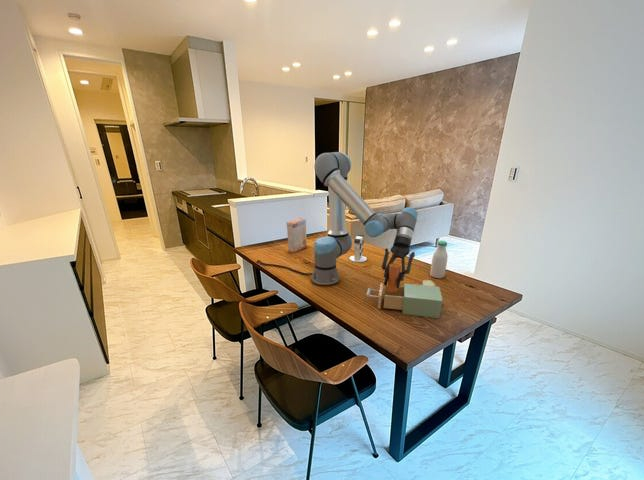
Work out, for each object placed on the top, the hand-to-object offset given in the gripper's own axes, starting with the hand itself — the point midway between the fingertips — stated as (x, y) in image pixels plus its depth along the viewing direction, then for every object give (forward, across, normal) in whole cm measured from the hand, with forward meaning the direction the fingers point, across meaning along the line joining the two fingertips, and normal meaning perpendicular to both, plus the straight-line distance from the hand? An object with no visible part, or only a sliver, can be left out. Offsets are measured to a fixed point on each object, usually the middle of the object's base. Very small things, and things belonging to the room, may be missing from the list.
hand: (391, 285), depth 130 cm
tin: (0, 0, -5) cm, 5 cm away
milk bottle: (-25, -15, -42) cm, 51 cm away
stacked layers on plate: (-8, -13, -25) cm, 29 cm away
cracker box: (-29, +79, -45) cm, 96 cm away
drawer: (+5, +1, -10) cm, 12 cm away
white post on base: (-29, +34, -46) cm, 64 cm away
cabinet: (+4, -13, -13) cm, 19 cm away
